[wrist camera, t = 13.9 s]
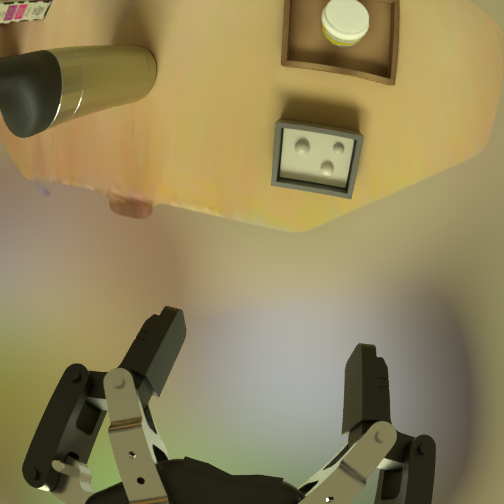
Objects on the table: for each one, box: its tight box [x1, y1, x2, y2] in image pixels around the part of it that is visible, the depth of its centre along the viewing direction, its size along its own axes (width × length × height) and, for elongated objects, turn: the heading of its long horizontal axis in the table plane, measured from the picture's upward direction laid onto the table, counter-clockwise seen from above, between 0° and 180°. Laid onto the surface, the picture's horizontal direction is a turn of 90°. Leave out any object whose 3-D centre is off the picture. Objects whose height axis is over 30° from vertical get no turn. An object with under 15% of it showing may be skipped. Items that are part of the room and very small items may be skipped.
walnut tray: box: [281, 0, 400, 85], centre depth 21 cm, size 13×12×3 cm
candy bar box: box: [0, 0, 52, 24], centre depth 14 cm, size 11×5×16 cm, turn 54°
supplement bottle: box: [321, 0, 369, 47], centre depth 18 cm, size 5×5×8 cm
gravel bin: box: [271, 119, 363, 199], centre depth 31 cm, size 10×8×4 cm
